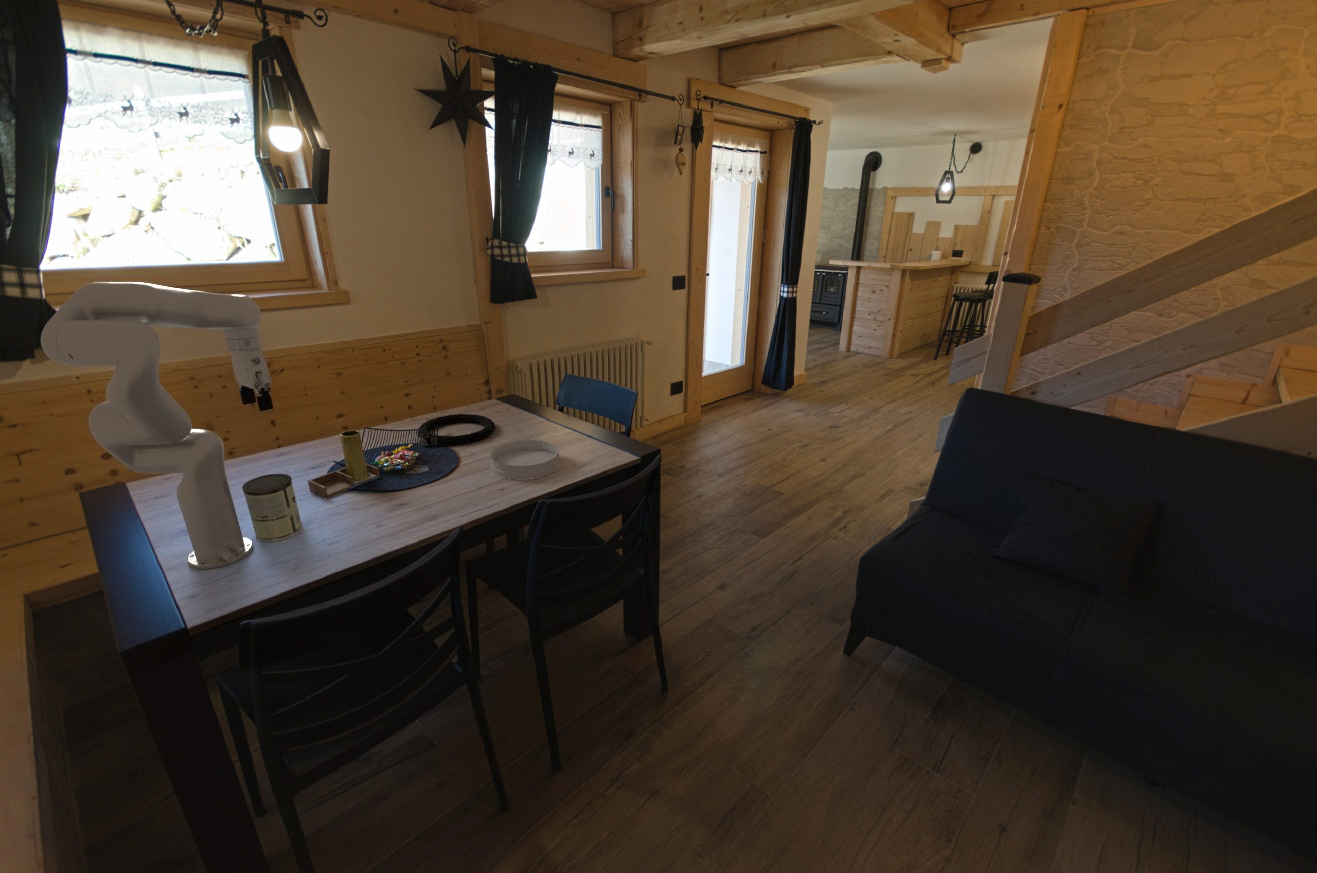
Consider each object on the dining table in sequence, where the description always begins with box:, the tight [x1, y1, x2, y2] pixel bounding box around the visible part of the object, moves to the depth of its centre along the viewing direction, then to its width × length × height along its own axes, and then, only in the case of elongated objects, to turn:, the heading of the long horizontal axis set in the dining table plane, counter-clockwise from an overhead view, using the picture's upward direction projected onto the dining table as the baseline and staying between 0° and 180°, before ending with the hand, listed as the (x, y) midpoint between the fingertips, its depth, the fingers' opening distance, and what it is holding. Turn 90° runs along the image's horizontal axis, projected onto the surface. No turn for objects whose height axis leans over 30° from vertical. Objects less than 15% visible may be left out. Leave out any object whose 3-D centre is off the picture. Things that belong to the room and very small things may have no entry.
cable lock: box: [416, 413, 496, 447], centre depth 215 cm, size 28×4×30 cm
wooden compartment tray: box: [307, 463, 380, 499], centre depth 173 cm, size 8×17×4 cm, turn 148°
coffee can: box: [242, 473, 303, 543], centre depth 146 cm, size 10×10×14 cm
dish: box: [490, 439, 561, 480], centre depth 189 cm, size 22×22×5 cm
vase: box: [339, 429, 369, 481], centre depth 174 cm, size 6×6×14 cm
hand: (258, 406), depth 156 cm, fingers open, 9 cm apart
